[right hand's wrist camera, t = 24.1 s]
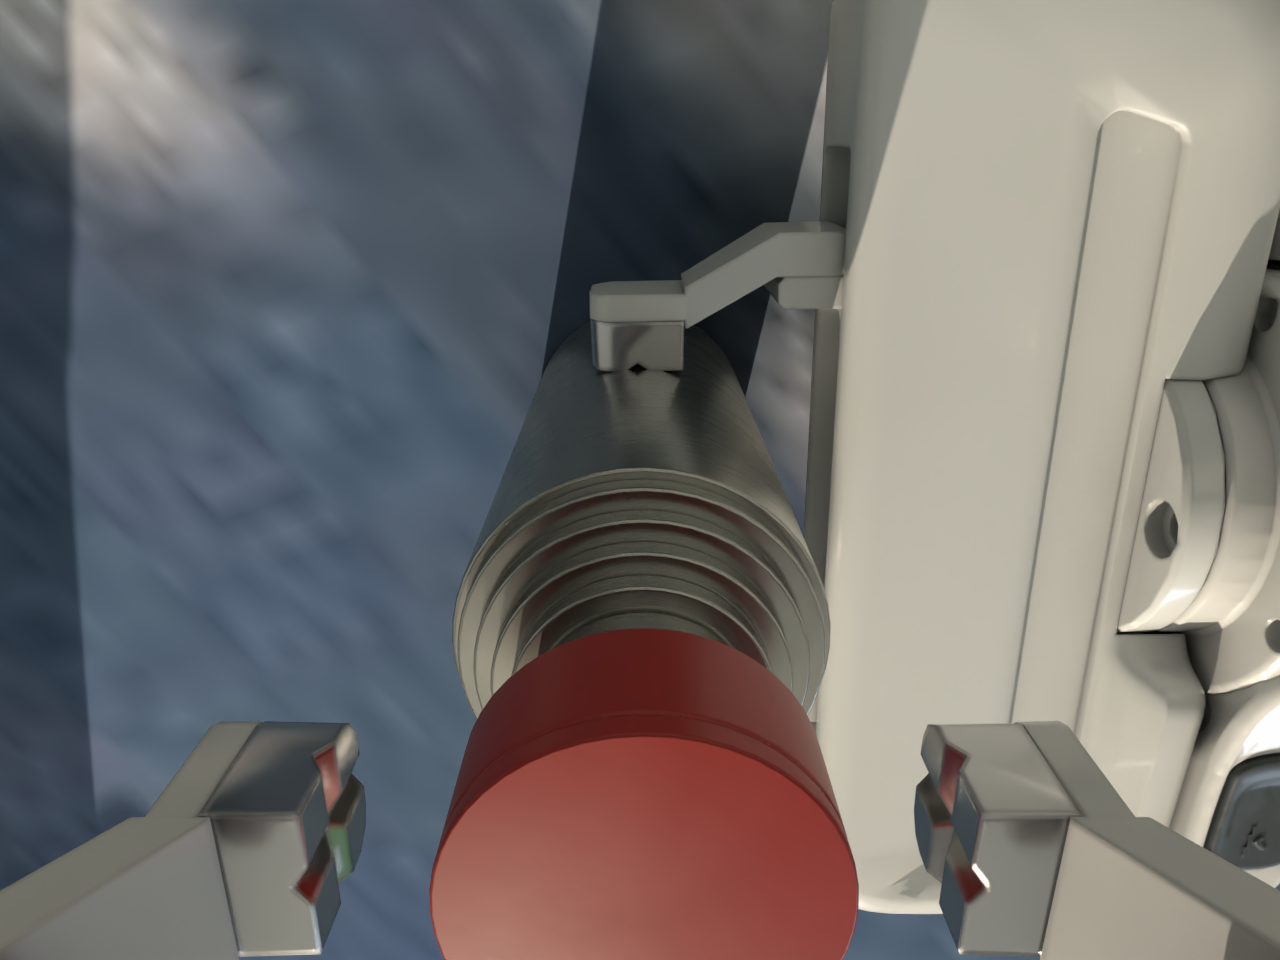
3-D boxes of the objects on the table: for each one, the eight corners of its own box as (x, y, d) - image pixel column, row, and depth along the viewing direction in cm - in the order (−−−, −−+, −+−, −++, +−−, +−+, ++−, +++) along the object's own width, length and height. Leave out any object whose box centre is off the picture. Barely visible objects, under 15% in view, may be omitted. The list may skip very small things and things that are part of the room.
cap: (833, 622, 10) (877, 730, 8) (812, 916, 11) (844, 1062, 9) (448, 627, 10) (406, 737, 8) (477, 920, 11) (448, 1066, 9)
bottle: (504, 353, 24) (270, 736, 9) (699, 275, 23) (822, 544, 8) (584, 529, 26) (508, 1106, 10) (767, 463, 25) (973, 976, 10)
